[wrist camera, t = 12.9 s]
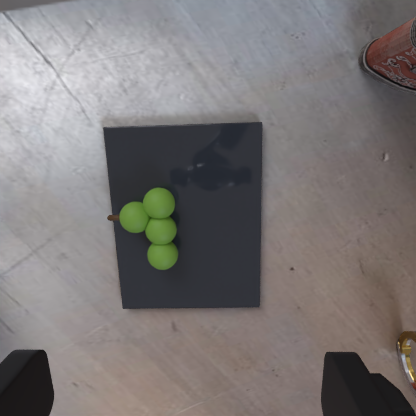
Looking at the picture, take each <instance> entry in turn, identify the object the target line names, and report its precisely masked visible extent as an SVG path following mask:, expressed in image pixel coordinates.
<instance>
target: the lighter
mask: <svg viewBox="0 0 416 416" xmlns="http://www.w3.org/2000/svg"><path fill="white" fill-rule="evenodd" d="M359 66H360V69H361V70H362V71H363V72H364V73H366V74H367V75H369V76H370V77H372V78H374V79H375V80H377V81H378V82H380V83H382V84H385V85H387V86H389V87H391V88H393V89H396V90H399V91H403V92H406V93H410V94H415V95H416V17H415V18H413V19H411V20H410V21H408V22H406V23H405V24H403V25H401V26H400V27H398V28H396V29H395V30H393V31H391V32H390V33H388V34H386V35H385V36H383V37H378V38H376V39H374V40H372V41H370V42H369V43H367V44H366V45H365V46H364V47H363V49H362V51H361V52H360V56H359Z"/></svg>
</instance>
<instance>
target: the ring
mask: <svg viewBox="0 0 416 416" xmlns="http://www.w3.org/2000/svg"><path fill="white" fill-rule="evenodd" d="M411 340H414V341H415V342H416V331H405V332H403V333H402V334H401V335H400V338H399V342H397V344H396V346H397V349H398V355H399V360H400V364H401V368H402V371H403V374H404V376H405V379H406V381H407V383H408V385H409V387H410V389H411V391H412V393H413V394H414V396H415V397H416V375H415V373H414V371H413V368H412V366H411V362H410V357H409V353H411V347H410V346H409V345H410V342H411Z"/></svg>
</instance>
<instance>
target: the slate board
mask: <svg viewBox="0 0 416 416" xmlns="http://www.w3.org/2000/svg"><path fill="white" fill-rule="evenodd" d="M103 130H104V139H105V149H106V158H107V167H108V176H109V186H110V195H111V204H112V213H113V215H120V212H121V210H122V208H123V207H124V206H125V205H126V204H128V203H130V202H141V203H143V199H144V197H145V195H146V194H147V193H148V192H149V191H150V190H152V189H154V188H164V189H166V190H168V191H169V192H171V194H172V195H173V197H174V199H175V208H174V211H173V212H172V214H171V215H170V217H171V218H172V219H173V220H174V222H175V224H176V228H177V231H176V235H175V237H174V239H173V240H172V241H171V242H173V243H174V244H175V246H176V247H177V250H178V258H177V261H176V263H175V264H174V265H173V266H172V267H171V268H169V269H166V270H159V269H156V268H154V267H153V266H152V265H151V264H150V263H149V261H148V257H147V252H148V249H149V247H150V245H151V244H152V242H151V241H150V240H149V239H148V238H147V236H146V233H145V230H144V231H142V232H139V233H132V232H129V231H127V230H125V229H124V228H123V227H122V225H121V223H120V220H115V221H113V223H114V232H115V241H116V250H117V259H118V269H119V278H120V287H121V296H122V306H123V309H140V308H236V307H260V249H261V176H262V122H252V123H220V124H187V125H155V126H123V127H103Z"/></svg>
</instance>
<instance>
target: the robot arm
mask: <svg viewBox="0 0 416 416" xmlns="http://www.w3.org/2000/svg"><path fill="white" fill-rule="evenodd" d="M53 401H54V390H53V384H52V379H51V374H50V368H49V363H48V358H47V354H46V352H45V351H44V350H14V351H13V352H11V353H10V354H9V355H8V356H7V357H6V358H5V359H4V360H3V361H2V362H1V364H0V416H49V414H50V412H51V409H52V406H53ZM321 404H322V411H323V416H416V415H415V412H414V410H413V408H412V407H411V405H410V404H409V402H408V401H407V400H406V398H405V397H404V395H403V394H402V393H401V391H400V390H399V389H398V388H397V387H395V386H394V385H393V384H392V383H391V382H390V381H388V380H387V379H386V378H385V377H384V376H382V375H381V374H380V373H369V371H368V369H367V368H366V366H365V365H364V363H363V361H362V360H361V358H360V357H359V355H358V354H357V353H355V352H327V353H326V354H325V358H324V369H323V380H322V391H321Z"/></svg>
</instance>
